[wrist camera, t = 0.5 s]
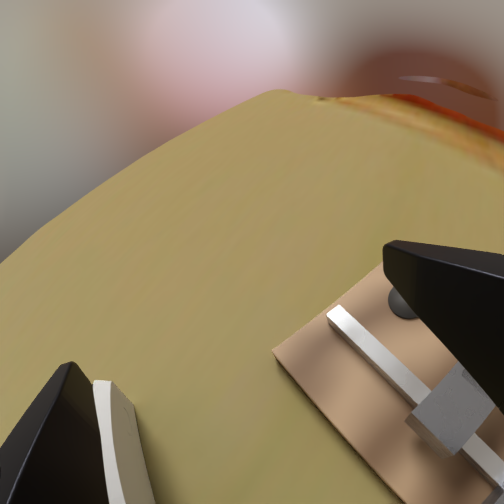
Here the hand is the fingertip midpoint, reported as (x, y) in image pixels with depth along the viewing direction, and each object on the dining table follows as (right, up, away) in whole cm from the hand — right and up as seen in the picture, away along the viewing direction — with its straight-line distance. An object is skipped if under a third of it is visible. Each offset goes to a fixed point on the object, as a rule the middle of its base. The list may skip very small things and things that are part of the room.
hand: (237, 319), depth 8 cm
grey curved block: (-8, -17, +10) cm, 21 cm away
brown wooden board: (+14, -8, +9) cm, 18 cm away
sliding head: (+14, -7, +8) cm, 17 cm away
